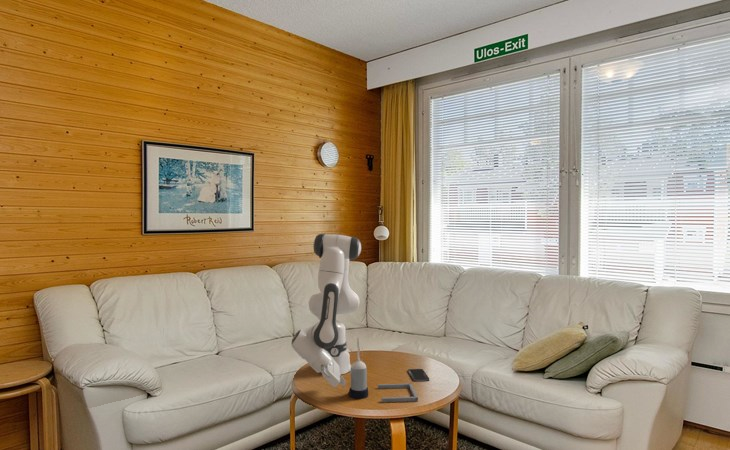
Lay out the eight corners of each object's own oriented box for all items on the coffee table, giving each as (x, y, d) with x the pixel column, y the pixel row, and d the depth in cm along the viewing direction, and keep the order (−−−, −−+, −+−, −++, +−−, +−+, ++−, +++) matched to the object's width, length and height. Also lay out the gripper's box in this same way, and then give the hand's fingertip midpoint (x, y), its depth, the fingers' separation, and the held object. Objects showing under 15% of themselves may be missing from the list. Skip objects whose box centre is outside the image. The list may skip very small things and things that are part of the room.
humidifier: (346, 393, 196) (346, 335, 196) (364, 390, 199) (364, 333, 199) (352, 400, 189) (352, 340, 188) (370, 397, 191) (370, 338, 191)
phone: (413, 380, 210) (407, 369, 225) (413, 382, 210) (407, 371, 225) (430, 379, 211) (422, 368, 226) (430, 381, 211) (422, 370, 226)
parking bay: (377, 387, 202) (377, 384, 202) (411, 386, 204) (411, 383, 204) (381, 402, 187) (381, 398, 187) (417, 401, 188) (417, 397, 188)
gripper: (326, 364, 182) (351, 388, 183) (327, 349, 203) (349, 371, 204) (315, 375, 182) (340, 399, 183) (317, 359, 202) (339, 381, 203)
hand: (345, 384), depth 193 cm, fingers closed
